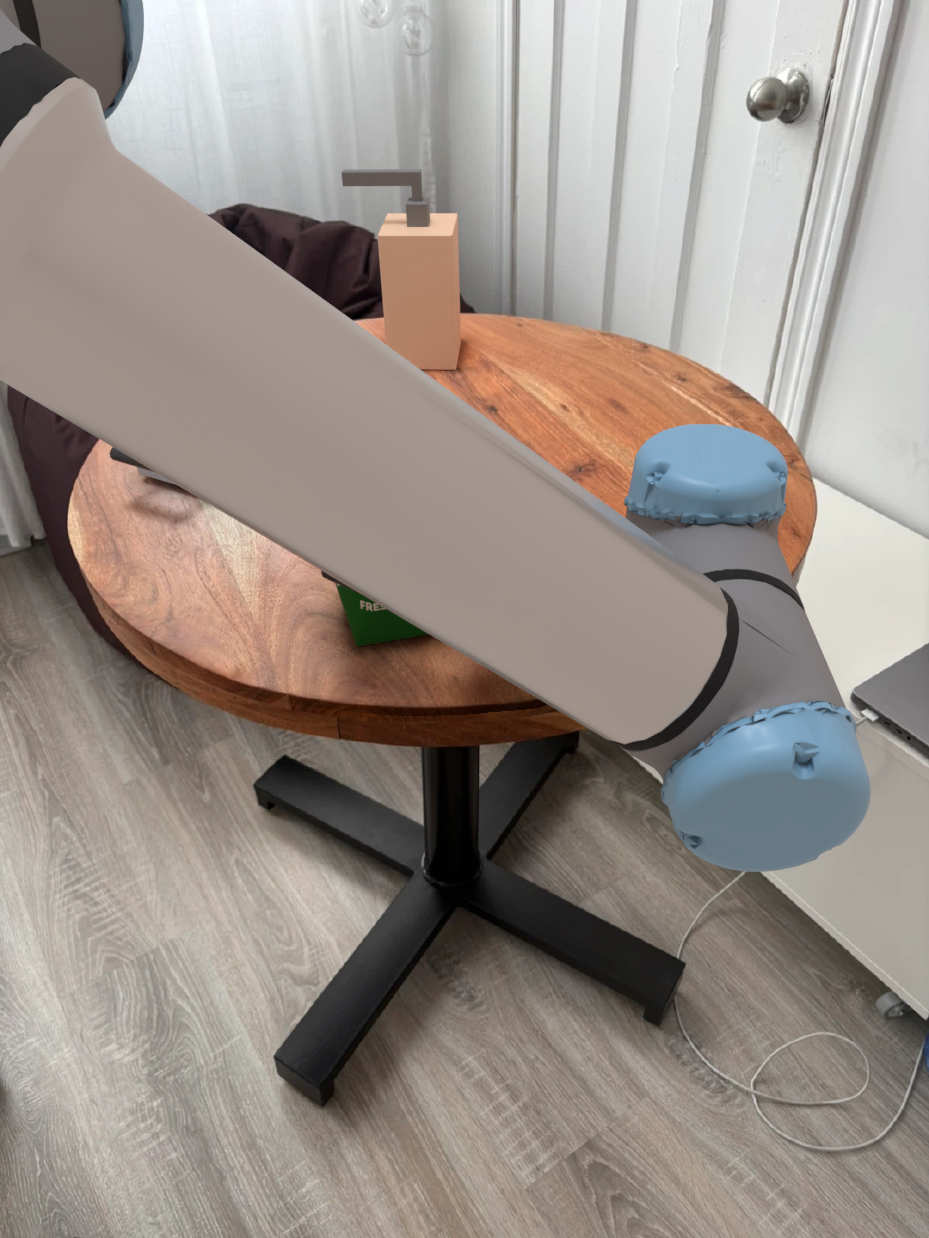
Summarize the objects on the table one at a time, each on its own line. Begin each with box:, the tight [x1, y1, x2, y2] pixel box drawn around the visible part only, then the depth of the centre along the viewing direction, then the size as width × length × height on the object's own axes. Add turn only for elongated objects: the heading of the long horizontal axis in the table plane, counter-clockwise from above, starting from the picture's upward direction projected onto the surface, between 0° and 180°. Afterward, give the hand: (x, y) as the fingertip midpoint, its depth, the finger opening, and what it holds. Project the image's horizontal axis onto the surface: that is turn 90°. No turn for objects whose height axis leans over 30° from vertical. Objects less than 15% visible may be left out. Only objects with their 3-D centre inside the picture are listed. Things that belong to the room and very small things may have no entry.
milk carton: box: [335, 583, 430, 647], centre depth 71 cm, size 9×9×20 cm
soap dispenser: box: [341, 168, 462, 371], centre depth 112 cm, size 13×9×22 cm
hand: (348, 480), depth 73 cm, fingers closed on milk carton, 9 cm apart
